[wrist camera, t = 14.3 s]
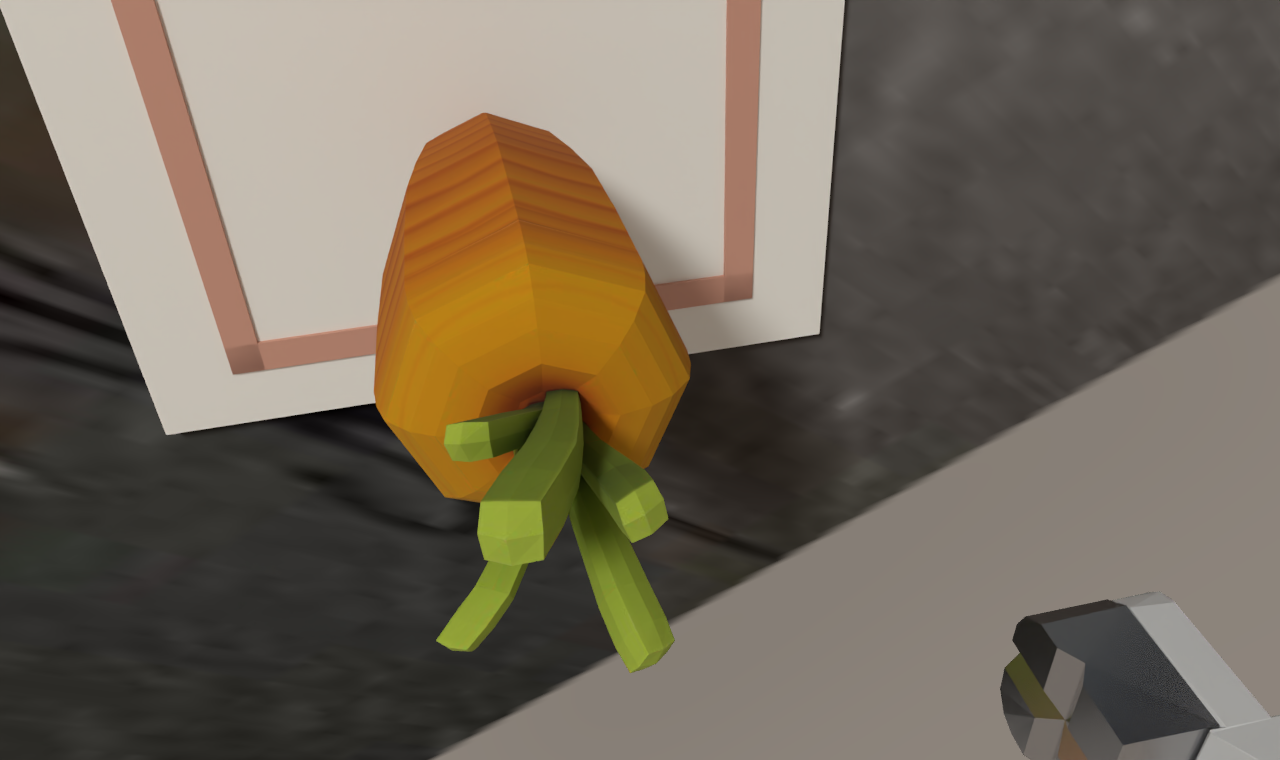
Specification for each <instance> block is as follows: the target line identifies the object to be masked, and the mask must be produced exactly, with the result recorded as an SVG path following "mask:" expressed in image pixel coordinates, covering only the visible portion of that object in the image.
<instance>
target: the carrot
mask: <svg viewBox="0 0 1280 760" xmlns="http://www.w3.org/2000/svg"><path fill="white" fill-rule="evenodd" d="M690 368H691V362H690V359H689V355H688V351H687V349H686V347H685V345H684V343H683V341H682V339H681V337H680V335H679V333H678V331H677V329H676V327H675V325H674V323H673V321H672V319H671V317H670V315H669V313H668V311H667V309H666V307H665V305H664V303H663V301H662V299H661V297H660V295H659V293H658V291H657V289H656V287H655V285H654V283H653V281H652V279H651V277H650V275H649V273H648V271H647V269H646V267H645V265H644V263H643V261H642V259H641V257H640V255H639V253H638V251H637V250H636V248H635V246H634V244H633V242H632V240H631V238H630V236H629V234H628V232H627V230H626V228H625V226H624V224H623V222H622V220H621V218H620V216H619V214H618V212H617V210H616V208H615V207H614V205H613V203H612V202H611V200H610V198H609V197H608V195H607V193H606V191H605V190H604V188H603V186H602V185H601V183H600V181H599V180H598V178H597V176H596V175H595V173H594V171H593V170H592V168H591V167H590V166H589V165H588V164H587V163H586V162H585V161H584V160H583V159H582V158H581V157H580V156H579V155H577V154H576V153H575V152H574V151H573V150H572V149H571V148H570V147H569V146H568V145H566V144H565V143H564V142H562V141H561V140H560V139H559V138H557V137H556V136H555V135H553V134H552V133H551V132H549V131H546V130H543V129H540V128H536V127H533V126H529V125H526V124H523V123H519V122H516V121H512V120H509V119H506V118H502V117H499V116H496V115H492V114H489V113H481V114H479V115H477V116H475V117H473V118H471V119H469V120H468V121H466V122H464V123H462V124H460V125H458V126H456V127H454V128H452V129H450V130H448V131H446V132H444V133H442V134H441V135H439V136H437V137H436V138H434V139H432V140H430V141H429V142H427V143H426V144H425V146H424V148H423V150H422V152H421V154H420V156H419V157H418V159H417V161H416V163H415V166H414V169H413V172H412V175H411V177H410V180H409V183H408V186H407V189H406V193H405V196H404V200H403V203H402V207H401V210H400V214H399V218H398V221H397V225H396V228H395V232H394V236H393V239H392V243H391V246H390V250H389V254H388V257H387V261H386V264H385V268H384V272H383V276H382V285H381V295H380V304H379V313H378V323H377V336H376V357H375V377H374V396H375V401H376V406H377V408H378V410H379V412H380V414H381V415H382V417H383V419H384V421H385V422H386V423H387V424H388V426H389V427H390V428H391V429H392V431H393V432H394V433H395V435H396V436H397V437H398V438H399V440H400V441H401V442H402V443H403V445H404V446H405V447H406V448H407V450H408V451H409V452H410V453H411V455H412V456H413V457H414V458H415V460H416V461H417V462H418V464H419V465H420V466H421V467H422V469H423V470H424V471H425V472H426V474H427V475H428V476H429V477H430V479H431V480H432V481H433V482H434V484H435V485H436V486H437V487H438V489H439V490H440V491H441V492H442V494H443V495H444V496H445V497H447V498H454V499H461V500H468V501H474V502H481V504H480V514H479V523H478V533H477V534H478V538H479V542H480V545H481V549H482V553H483V556H484V560H488V563H487V565H486V567H485V569H484V571H483V573H482V574H481V576H480V578H479V580H478V582H477V584H476V586H475V587H474V589H473V590H472V591H471V593H470V594H469V595H468V597H467V598H466V599H465V601H464V602H463V603H462V605H461V606H460V607H459V609H458V610H457V611H456V613H455V614H454V616H453V617H452V618H451V620H450V621H449V623H448V624H447V625H446V627H445V628H444V630H443V631H442V633H441V634H440V636H439V637H438V638H437V640H436V641H438V642H439V643H441V644H442V645H444V646H446V647H447V648H449V649H450V650H453V651H473V650H474V649H476V648H477V647H478V646H479V645H480V643H481V642H482V641H483V640H484V639H485V638H486V637H487V635H488V634H489V633H490V632H491V631H492V630H493V629H494V627H495V626H496V624H497V623H498V621H499V620H500V618H501V617H502V616H503V614H504V613H505V611H506V610H507V608H508V607H509V605H510V604H511V602H512V601H513V599H514V596H515V594H516V592H517V589H518V587H519V584H520V582H521V580H522V577H523V575H524V572H525V570H526V568H527V565H528V563H530V562H535V561H540V560H544V558H545V557H546V555H547V553H548V552H549V550H550V548H551V546H552V545H553V543H554V541H555V540H556V538H557V536H558V534H559V533H560V531H561V529H562V527H563V526H564V523H565V521H566V518H567V516H568V514H569V517H570V520H571V523H572V526H573V530H574V533H575V536H576V539H577V542H578V545H579V548H580V551H581V554H582V557H583V561H584V564H585V567H586V570H587V573H588V576H589V579H590V582H591V585H592V588H593V591H594V594H595V597H596V601H597V604H598V607H599V609H600V612H601V614H602V617H603V619H604V621H605V624H606V626H607V628H608V631H609V633H610V636H611V638H612V640H613V643H614V645H615V648H616V649H617V651H618V653H619V655H620V656H621V658H622V660H623V661H624V663H625V665H626V667H627V668H628V670H629V672H630V673H632V672H635V671H639V670H642V669H645V668H647V667H649V666H652V665H654V664H656V663H657V662H658V661H659V660H660V659H661V658H662V657H663V655H664V654H666V652H667V651H668V650H669V648H670V647H671V645H672V644H673V642H674V641H675V640H674V637H673V634H672V632H671V629H670V627H669V624H668V621H667V619H666V616H665V614H664V612H663V610H662V608H661V606H660V604H659V602H658V600H657V598H656V596H655V594H654V592H653V590H652V588H651V586H650V584H649V582H648V580H647V578H646V576H645V573H644V571H643V569H642V567H641V565H640V563H639V561H638V559H637V557H636V554H635V552H634V550H633V548H632V546H631V544H630V542H629V540H630V541H631V542H632V543H633V542H636V541H638V540H640V539H642V538H644V537H647V536H649V535H651V534H653V533H654V532H655V531H656V530H657V529H658V528H659V527H660V526H661V525H662V524H663V523H664V522H665V521H667V520H668V515H667V511H666V507H665V503H664V499H663V497H662V496H661V494H660V492H659V490H658V488H657V486H656V484H655V483H654V481H653V479H652V478H651V477H650V476H649V474H648V473H647V472H646V471H645V470H644V468H646V467H648V466H649V464H650V462H651V460H652V458H653V455H654V453H655V451H656V449H657V447H658V445H659V443H660V441H661V438H662V436H663V434H664V432H665V430H666V428H667V426H668V424H669V421H670V419H671V417H672V415H673V413H674V411H675V409H676V407H677V404H678V402H679V400H680V398H681V396H682V394H683V392H684V390H685V387H686V385H687V383H688V381H689V379H690ZM628 539H629V540H628Z"/></svg>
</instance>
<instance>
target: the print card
mask: <svg viewBox="0 0 1280 760" xmlns="http://www.w3.org/2000/svg"><path fill="white" fill-rule="evenodd" d="M844 4H845V0H0V8H1V11H2V13H3V16H4V18H5V21H6V24H7V26H8V29H9V31H10V34H11V36H12V39H13V42H14V44H15V47H16V49H17V52H18V54H19V57H20V60H21V62H22V65H23V67H24V70H25V72H26V75H27V78H28V80H29V83H30V85H31V88H32V91H33V93H34V96H35V98H36V101H37V103H38V106H39V109H40V111H41V114H42V116H43V119H44V121H45V124H46V127H47V129H48V132H49V134H50V137H51V139H52V142H53V145H54V147H55V150H56V152H57V155H58V158H59V160H60V163H61V165H62V168H63V170H64V173H65V176H66V178H67V181H68V183H69V186H70V188H71V191H72V194H73V196H74V199H75V201H76V204H77V206H78V209H79V212H80V214H81V217H82V219H83V222H84V224H85V227H86V230H87V232H88V235H89V237H90V240H91V243H92V245H93V248H94V250H95V253H96V255H97V258H98V261H99V263H100V266H101V268H102V271H103V273H104V276H105V279H106V281H107V284H108V286H109V289H110V291H111V294H112V297H113V299H114V302H115V304H116V307H117V310H118V312H119V315H120V317H121V320H122V322H123V325H124V328H125V330H126V333H127V335H128V338H129V340H130V343H131V346H132V348H133V351H134V353H135V356H136V358H137V361H138V364H139V366H140V369H141V371H142V374H143V376H144V379H145V382H146V384H147V387H148V389H149V392H150V395H151V397H152V400H153V402H154V405H155V407H156V410H157V413H158V415H159V418H160V420H161V423H162V425H163V428H164V431H165V433H166V435H170V434H176V433H183V432H189V431H196V430H202V429H209V428H215V427H222V426H228V425H234V424H241V423H247V422H254V421H260V420H267V419H273V418H280V417H286V416H293V415H299V414H305V413H312V412H318V411H325V410H331V409H338V408H344V407H351V406H357V405H364V404H370V403H376V401H375V396H374V377H375V357H376V336H377V323H378V313H379V304H380V295H381V285H382V276H383V272H384V268H385V264H386V261H387V257H388V254H389V250H390V246H391V243H392V239H393V236H394V232H395V228H396V225H397V221H398V218H399V214H400V210H401V207H402V203H403V200H404V196H405V193H406V189H407V186H408V183H409V180H410V177H411V175H412V172H413V169H414V166H415V163H416V161H417V159H418V157H419V156H420V154H421V152H422V150H423V148H424V146H425V144H426V143H427V142H429V141H430V140H432V139H434V138H436V137H437V136H439V135H441V134H442V133H444V132H446V131H448V130H450V129H452V128H454V127H456V126H458V125H460V124H462V123H464V122H466V121H468V120H469V119H471V118H473V117H475V116H477V115H479V114H481V113H489V114H492V115H496V116H499V117H502V118H506V119H509V120H512V121H516V122H519V123H523V124H526V125H529V126H533V127H536V128H540V129H543V130H546V131H549V132H551V133H552V134H553V135H555V136H556V137H557V138H559V139H560V140H561V141H562V142H564V143H565V144H566V145H568V146H569V147H570V148H571V149H572V150H573V151H574V152H575V153H576V154H577V155H579V156H580V157H581V158H582V159H583V160H584V161H585V162H586V163H587V164H588V165H589V166H590V167H591V168H592V170H593V171H594V173H595V175H596V176H597V178H598V180H599V181H600V183H601V185H602V186H603V188H604V190H605V191H606V193H607V195H608V197H609V198H610V200H611V202H612V203H613V205H614V207H615V208H616V210H617V212H618V214H619V216H620V218H621V220H622V222H623V224H624V226H625V228H626V230H627V232H628V234H629V236H630V238H631V240H632V242H633V244H634V246H635V248H636V250H637V251H638V253H639V255H640V257H641V259H642V261H643V263H644V265H645V267H646V269H647V271H648V273H649V275H650V277H651V279H652V281H653V283H654V285H655V287H656V289H657V291H658V293H659V295H660V297H661V299H662V301H663V303H664V305H665V307H666V309H667V311H668V313H669V315H670V317H671V319H672V321H673V323H674V325H675V327H676V329H677V331H678V333H679V335H680V337H681V339H682V341H683V343H684V345H685V347H686V349H687V351H688V354H693V353H699V352H706V351H712V350H719V349H725V348H732V347H738V346H745V345H751V344H757V343H764V342H770V341H777V340H783V339H790V338H796V337H803V336H809V335H816V334H819V332H820V319H821V306H822V293H823V280H824V267H825V254H826V240H827V227H828V214H829V201H830V188H831V175H832V162H833V148H834V135H835V122H836V109H837V96H838V83H839V69H840V56H841V43H842V30H843V17H844Z"/></svg>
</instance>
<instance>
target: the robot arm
mask: <svg viewBox="0 0 1280 760" xmlns="http://www.w3.org/2000/svg"><path fill="white" fill-rule="evenodd" d="M1013 642H1014V644H1015V645H1016V647H1017V648H1018V650H1019V652H1020V653H1019V654H1018V655H1017V656H1016V657H1015V658H1014V659H1013V660H1012V661H1011V662H1010V663H1009V664H1008V665H1007V666H1006V667H1005V669H1004V674H1003V678H1002V683H1001V688H1000V690H1001V697H1002V704H1003V711H1004V715H1005V718H1006V720H1007V723H1008V726H1009V728H1010V731H1011V733H1012V735H1013V737H1014V739H1015V741H1016V743H1017V744H1018V746H1019V748H1020V750H1021V751H1022V753H1023V755H1024V756H1026V757H1028V758H1029V759H1030V760H1280V715H1278V716H1272V717H1271V716H1270V715H1269V714H1268V713H1267V712H1266V710H1265V709H1264V708H1263V707H1262V706H1261V704H1260V703H1259V702H1258V701H1257V700H1256V698H1255V697H1254V696H1253V695H1252V694H1251V693H1250V691H1249V690H1248V689H1247V688H1246V687H1245V685H1244V684H1243V683H1242V682H1241V681H1240V680H1239V678H1238V677H1237V676H1236V675H1235V673H1234V672H1233V671H1232V670H1231V669H1230V668H1229V666H1228V665H1227V664H1226V663H1225V662H1224V660H1223V659H1222V658H1221V657H1220V656H1219V654H1218V653H1217V652H1216V651H1215V650H1214V649H1213V647H1212V646H1211V645H1210V644H1209V642H1208V641H1207V640H1206V639H1205V638H1204V637H1203V635H1202V634H1201V633H1200V632H1199V631H1198V629H1197V628H1196V627H1195V626H1194V625H1193V624H1192V622H1191V621H1190V620H1189V619H1188V618H1187V616H1186V615H1185V614H1184V613H1183V612H1182V611H1181V609H1180V608H1179V607H1178V606H1177V605H1176V603H1175V602H1174V601H1173V600H1172V599H1171V598H1169V597H1168V596H1166V595H1164V594H1163V593H1161V592H1149V593H1144V594H1140V595H1135V596H1130V597H1126V598H1121V599H1117V600H1112V601H1110V600H1103V601H1098V602H1093V603H1089V604H1084V605H1079V606H1074V607H1070V608H1065V609H1060V610H1055V611H1050V612H1046V613H1041V614H1036V615H1031V616H1026V617H1025V618H1024V619H1022V620H1021V621H1020V622H1019V623H1018V624H1017V626H1016V630H1015V633H1014V636H1013Z"/></svg>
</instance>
